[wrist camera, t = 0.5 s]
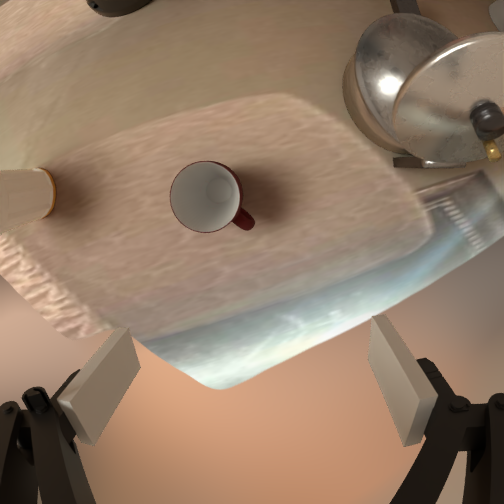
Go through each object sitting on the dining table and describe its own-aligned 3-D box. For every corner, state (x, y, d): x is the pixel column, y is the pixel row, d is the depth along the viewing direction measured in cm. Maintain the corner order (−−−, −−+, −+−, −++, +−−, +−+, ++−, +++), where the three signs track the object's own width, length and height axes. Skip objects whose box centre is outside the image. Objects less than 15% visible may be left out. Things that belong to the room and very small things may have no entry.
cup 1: (22, 159, 43) (-47, 165, 27) (64, 165, 43) (-11, 171, 27) (18, 218, 46) (-48, 239, 30) (58, 229, 46) (-12, 257, 30)
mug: (274, 191, 43) (274, 198, 33) (243, 239, 45) (234, 258, 35) (210, 151, 42) (192, 147, 32) (181, 200, 44) (157, 209, 34)
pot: (319, -2, 34) (329, -36, 24) (428, 10, 32) (454, -14, 23) (348, 169, 41) (369, 169, 32) (458, 166, 39) (496, 169, 30)
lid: (424, 5, 12) (447, 32, 11) (577, 65, 10) (594, 91, 9) (369, 161, 31) (375, 186, 30) (495, 162, 30) (503, 183, 29)
